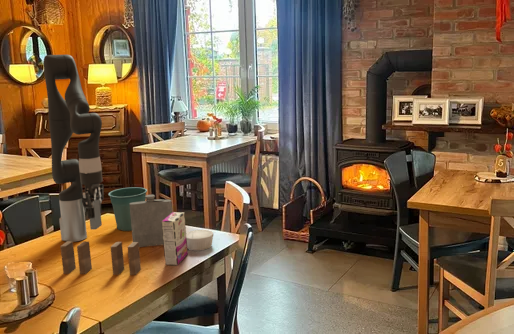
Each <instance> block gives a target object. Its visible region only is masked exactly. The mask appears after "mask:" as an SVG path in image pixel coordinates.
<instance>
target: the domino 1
mask: <svg viewBox="0 0 514 334" xmlns="http://www.w3.org/2000/svg"><path fill="white" fill-rule="evenodd" d="M59 249H60V253H61V254H60V255H61V265H62V273H63V274H64V275H70V274H71V273H72V272H74V271H75V270H76V268H77V267H76V258H75V250H74V249H75V248H74V242H73V241H65V242H64V243H63V244H61V245H60V248H59Z"/></svg>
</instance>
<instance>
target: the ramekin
mask: <svg viewBox="0 0 514 334" xmlns="http://www.w3.org/2000/svg"><path fill="white" fill-rule="evenodd" d="M213 237H214V232H213V231H212V230H209V229H196V230H190V231H188V232H187V231H186V239H187V250H191V251H194V252H195V251H196V252H197V251H199V252H200V251H205V249H206V250H208V249H210V248H211V247H212V245H213Z"/></svg>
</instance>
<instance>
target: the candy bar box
mask: <svg viewBox="0 0 514 334" xmlns="http://www.w3.org/2000/svg"><path fill="white" fill-rule="evenodd" d="M162 231H163V241H164V245H163V249H164V262H165V263H164V264H165V265H166V266H179V265H180V263H182V261H183V260H184V259H185V258H186V257H187V256H188V254H189V252H188V248H187V239H186V233H187V230H186V217H185V212H179V211H178V212H177V211H172V213H171V214H170V215H169V216H168V217H166V218H165V219H164V220H163V221H162Z"/></svg>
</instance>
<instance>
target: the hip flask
mask: <svg viewBox="0 0 514 334" xmlns="http://www.w3.org/2000/svg"><path fill="white" fill-rule="evenodd" d="M155 197H156V196H155V194H146V196H145V198H146V200H145V201H141V202H133V203H130V215H131V227H132V231H131V237H132V242H139V248H145V247H154V246H164V241H163V231H162V221H163V220H164V219H165V218H166V217H168V216H169V215H170V214H171V213H172V212H173V208H172V200H171V199H163V198H162V199H155Z"/></svg>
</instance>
